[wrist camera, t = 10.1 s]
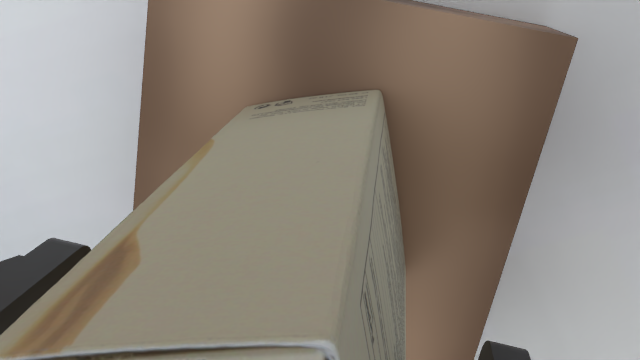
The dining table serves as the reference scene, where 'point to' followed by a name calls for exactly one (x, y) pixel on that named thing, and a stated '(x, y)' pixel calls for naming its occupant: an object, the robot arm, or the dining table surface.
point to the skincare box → (246, 251)
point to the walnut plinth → (401, 113)
